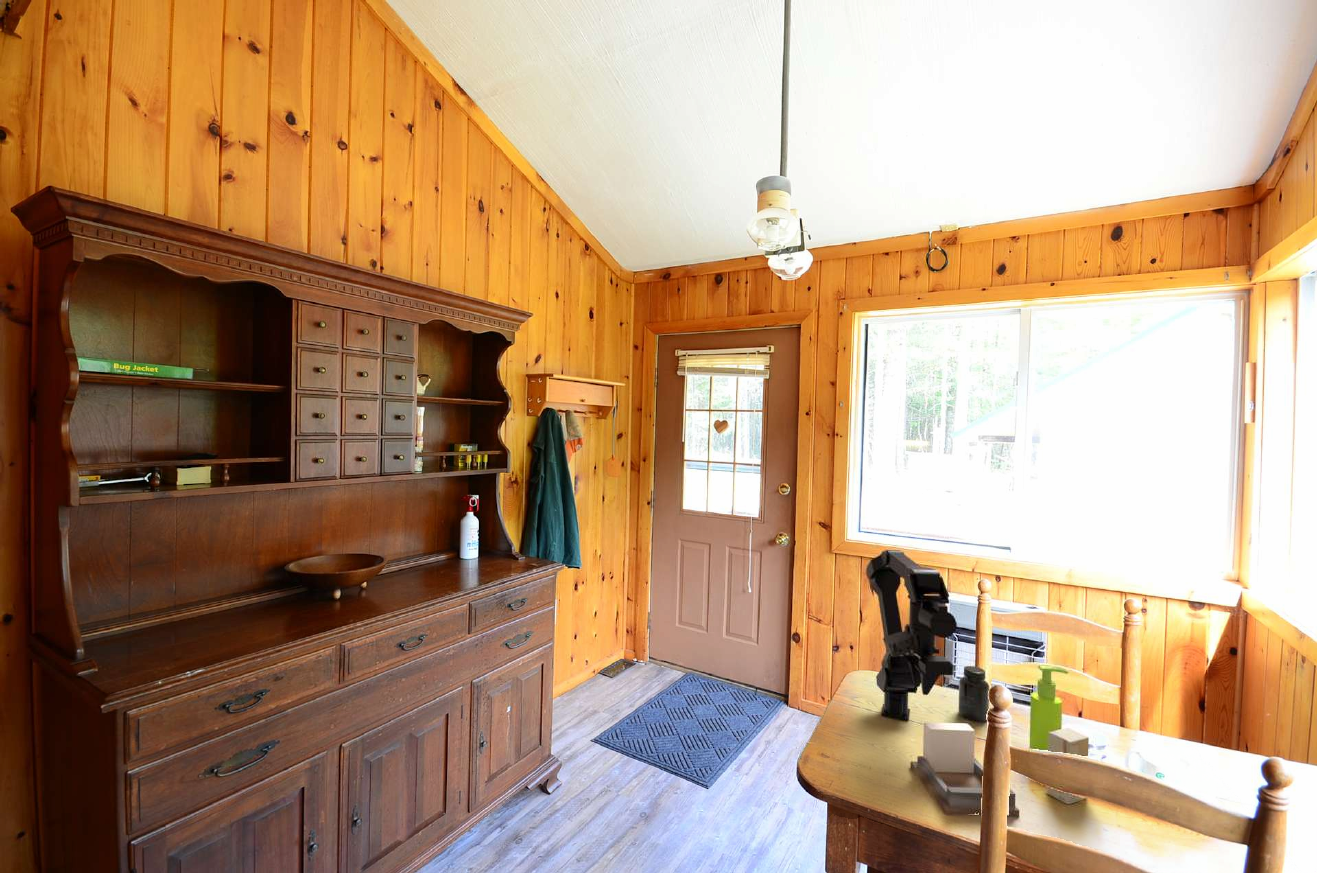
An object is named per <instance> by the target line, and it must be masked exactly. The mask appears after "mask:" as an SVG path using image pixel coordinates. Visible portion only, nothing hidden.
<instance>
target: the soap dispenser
mask: <svg viewBox="0 0 1317 873" xmlns="http://www.w3.org/2000/svg"><path fill="white" fill-rule="evenodd" d="M1038 670H1040V671H1041V672H1042V673H1041V674H1042V675H1041V676H1042V677H1041V678H1038V679H1037V687H1036V688H1037V691H1034V692H1031V693H1030V707H1029V708H1030V709H1029V710H1030V714H1029V715H1030V717H1029V749H1030V748H1031V749H1039V750H1048V737H1049V732H1052V731H1056V730H1061V729H1062V724H1063V723H1062V721H1063V719H1062V718H1063V717H1062V715H1063V700H1062V699H1061V698H1060V697H1058V696H1056V686H1057V684H1056V682H1055V681H1053V680H1052V672H1053V673H1054V672H1056V673H1061V674H1062V673H1063V674H1068V673H1069V671H1068V670H1067V669H1064V668H1063V667H1060V666H1054V665H1044V664H1042V665H1038Z"/></svg>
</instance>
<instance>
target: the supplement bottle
mask: <svg viewBox="0 0 1317 873" xmlns="http://www.w3.org/2000/svg"><path fill="white" fill-rule="evenodd" d="M988 691H989V692H990V684H989V683H988V682H987V681H986V670H984V669H983V668H982V667H981V668H980V667H977V666H973V665H966V666H964V667H963V676H962V677H961V678H960V679H959V681H958V714H959V715H960V716H961V717H962V718H963V719H966V720H967V719H968V721H970V722H974V723H985V722H987V721H988V720H986V714H987V711H988V709H989V710H990V698H989V699H988Z"/></svg>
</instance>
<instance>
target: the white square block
mask: <svg viewBox="0 0 1317 873" xmlns="http://www.w3.org/2000/svg"><path fill="white" fill-rule="evenodd" d="M975 732H976V730H975V729H974V728H972V726H971V725H970V724H968V723H963V722H962V723H958V722H926V721H925V722H923V738H922V740H923V746H922V747H923V748H922V754H923V755H922V756H923V758H924V759H925V760H926V761H927V762H928V764H929V765H930V766H931V767H932V769H933V770H934V771H935V772H955V773H974V758H975V735H976V734H975Z"/></svg>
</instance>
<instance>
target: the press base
mask: <svg viewBox="0 0 1317 873" xmlns="http://www.w3.org/2000/svg"><path fill="white" fill-rule="evenodd" d="M909 762H910V769H911V770H912V772H914V774H915V775H916V776H917V778H918V779H919V781H920V782H921V783H922V785H923V786H924V787H925V789H926V790H927V791H928V792H929V794H930V793H931V794H930V795H931V796H932V797H933V800H935V802H936V803H937V804H938V805H939V807H940V808H941V810H942V811H943V812H944V813H945V815H947V816H949V815H950V816H951V815H953V814H959V815H958V816H961V815H960V814H975V813H976V814H978V813H979V816H980V815H981V798H982V776H983V767H984V766H983V765H982V763H981V762H979V761H978V760H977V759H976V758H975V757H974V773H955V772H935V771H934V770H933V769H932V767H931V766H930V765H929V764H928V762H927V761H926V760H925V759H924V758H923V755H917V761H915V760H914V761H913V760H912V761H909ZM1009 789H1010V796H1009V816H1008V817H1017V818H1019V817H1020V809H1019V808H1018V807H1017V806H1016V793H1015V792H1014V791H1013V790H1012V789H1011V788H1009ZM953 816H954V815H953Z"/></svg>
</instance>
